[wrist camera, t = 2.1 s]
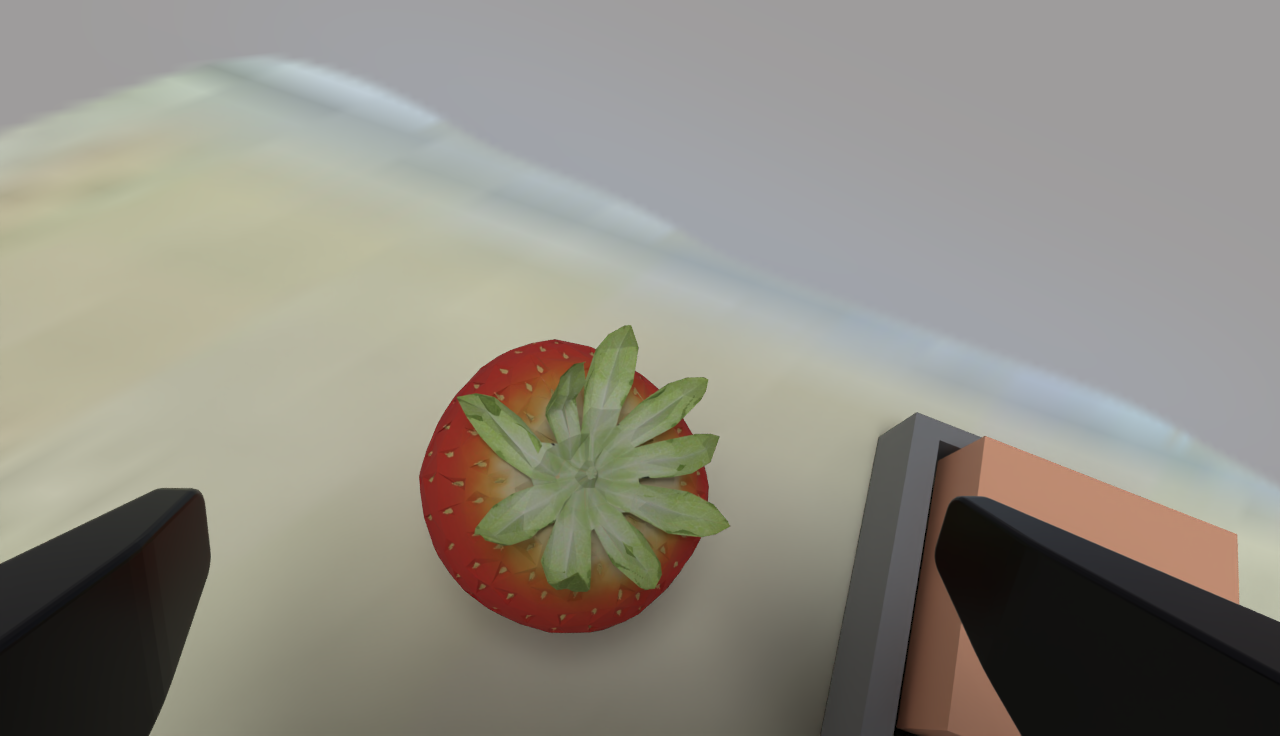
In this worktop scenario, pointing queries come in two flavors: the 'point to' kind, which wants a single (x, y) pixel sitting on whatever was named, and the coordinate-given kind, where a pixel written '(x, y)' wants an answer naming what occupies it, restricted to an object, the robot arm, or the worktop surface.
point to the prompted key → (1106, 515)
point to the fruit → (568, 484)
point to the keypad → (886, 577)
